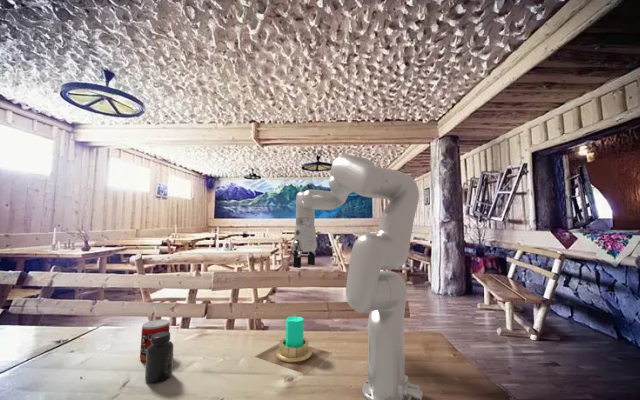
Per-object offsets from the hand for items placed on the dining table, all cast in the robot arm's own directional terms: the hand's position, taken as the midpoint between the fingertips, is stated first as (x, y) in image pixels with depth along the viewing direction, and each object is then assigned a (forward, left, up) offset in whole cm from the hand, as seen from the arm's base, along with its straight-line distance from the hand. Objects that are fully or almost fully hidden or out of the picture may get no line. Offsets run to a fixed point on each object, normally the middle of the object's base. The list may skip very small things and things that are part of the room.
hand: (304, 266), depth 109 cm
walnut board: (-6, +14, -28) cm, 32 cm away
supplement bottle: (+20, +44, -28) cm, 56 cm away
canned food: (+34, +38, -28) cm, 58 cm away
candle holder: (-6, +14, -27) cm, 31 cm away
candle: (-6, +14, -26) cm, 30 cm away
